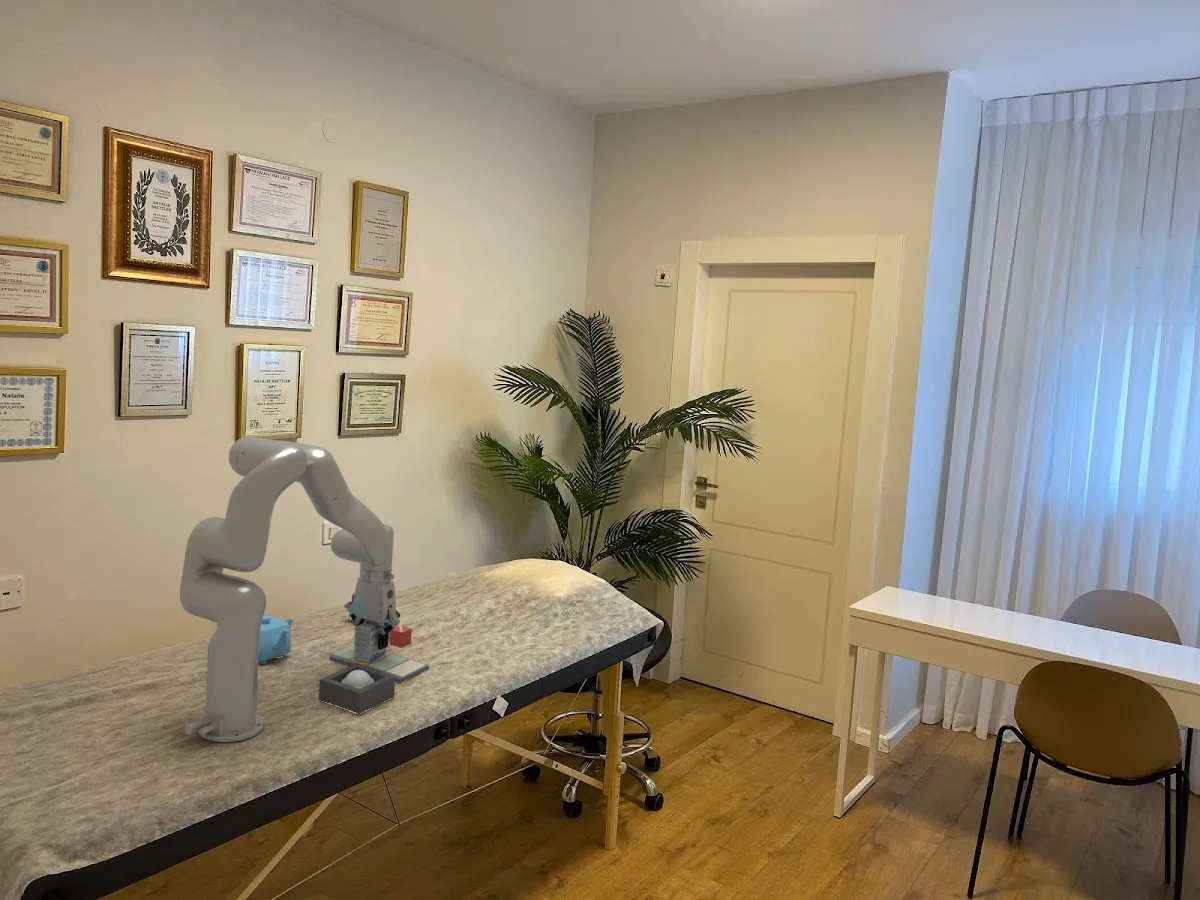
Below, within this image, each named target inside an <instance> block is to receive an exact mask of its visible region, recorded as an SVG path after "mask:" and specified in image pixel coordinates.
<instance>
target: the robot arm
mask: <svg viewBox="0 0 1200 900" xmlns="http://www.w3.org/2000/svg"><path fill="white" fill-rule="evenodd" d="M228 463H229V465H230V467H231V469H232V470H233V471H234V472H235V473H237V475H239V476H241V477H242V479H241V480H240V481H238V483H237V484H236V485H235V487H234V488H233V490H232V492H231V493H230V496H229V498H228V502H227V509H226V513H225V517H217V516H212V517H207V518H204V519H202V520H201V521H200V522H198V523H197V524H196V525H194V528H193V529H192V531H191V532H190V534H189V537H188V539H187V543H186V548H185V553H184V560H183V565H182V573H181V579H180V585H179V586H180V587H179V601H180V604H181V607H182V609H183V610H185V612H187V613H188V614H190V615H192V616H195V617H198V618H202V619H205V620H209V621H211V622H213V623H216V624H217V626H216V630H215V631H214V633H213V634H212V636H211V638H210V639H209V642H208V646H207V665H206V666H207V671H206V701H205V702H206V703H205V704H206V706H205V710H204V711H201V716H200V718H198V720H197V721H196V722H195V721H194V722H192V723H189V724H187V725H185V727H184V732H185V733H186V734H187V735H188V736H190V735H194V734H196V733H197V734H198V735H199V736H200V737H201V738H202V739H204V740H207V741H210V742H216V743H233V742H240V741H243V740H244V741H245V740H248V739H250V738H253V737H255V736H256V735H258V734H260V732H262V730H263V729H264V727H265V719H264V717H263V716H262V715H261V714H259V713H257V708H258V684H259V683H258V681H259V680H258V679H259V677H258V676H259V663H258V658H259V637H260V629H261V624H262V619H263V616H265V611H266V607H267V597H266V593H265V591H264V589H262V587H261V586H260V585H259V584H257V583H256V582H254V581H252V580H250V579H246V578H243V577H240V576H239V577H238V576H236V575H232V574H227V573H224V572H223V571H224V569H227V570H231V571H235V572H239V573H240V572H242V573H251V572H255V571H257V570H258V569H259V568H260V567H262V565H263V563H264V561H265V557H266V553H267V547H268V542H269V536H270V530H271V524H272V523H271V521H272V517H273V514H274V513H273V512H274V508H275V505H276V502H277V501H278V499H279V498H280V496H281V495H282V494H283V493H284V492H285V491H286V490H287V489H288V488H289V487H290V486H292V485H293V484H294V483H299V484H301V486H302V488H303V489H304V491H305V493H306V495H307V496H308V498H309V500H310V501H311V503H312V506H313V507H314V510H315V511H316V512H317V514H318V516H321V517H322V518H323V519H324V520H326V521H327V522H329V523H330V524H333V525H334V526H337V527H339V528H341V529H340V530H338V531H337V532H336V533H335V534H334V535H333V536H332V538H331V542H330V549H331V551H332V553H333V554H334V555H335V556H336V557H337V558H340V559H342V560H346V561H350V562H352V563H353V562H354V563H359V577H357V581H356V585H355V589H354V593H355V594H354V602H353V603H352V604H351V605H350V606H348V607H347V608H346V610H347V612H348V613H349V614H350V615H351V617H350V618H351V620H352V622H353V626H354V627H357V626H359V625H361V624H363V623H364V622H365V621H366V620H370V621H373V622H376V623H378V625H379V629H380V632H381V633H380V634H379V635H378V649H379V650H381V649H384V648H386V649H387V648H388V647H389V636H390V632H391V631H392V630H393V629H394V628H395V627H397V626H399V624H400V622H401V620H400V619H399V618H400V617H399V618H398V617H397V615H396V610H397V609H396V607H397V606H396V605H397V600H396V599H397V598H396V587H395V583H394V581H393V580H394V578H395V575H394V574H392V571H393V570H392V569H393V568H392V567H393V555H394V554H393V553H394V550H393V549H394V540H395V539H394V535H395V531H394V529H393V527H392V526H391V525H389V524H387V523H386V524H385V523H383V522H382V521H381V520H380V518H379V517H378V516H377V515H376V513H375V512H373V511H372V510H371V509H370V508H368V506H366V505H365V504H364V503H363V502H362V501H361V500H359V499H358V498H357V497H356V496H354V494H353V493H352V492H351V489H350V488H349V486H348V484H347V481H346V480H345V478H344V476H343V473H342V471H341V470H340V467H339V466H338V464H337V462H336V459H335V458H334V456H333V455H332V453H331V452H330V451H329V450H327V449H326V448H324V447H320V446H316V445H313V444H312V445H311V444H307V443H302V442H301V443H299V442H295V441H287V440H276V439H269V438H264V437H263V438H262V437H258V436H257V437H256V436H251V435H250V436H249V435H248V436H244V437H241V438H239V439H238V440H236V441H235V442H234V443H233V444H232V446H231V447H230V449H229V453H228ZM389 619H390V620H391V623H390V622H389ZM383 623H385V626H386V627H384V624H383Z"/></svg>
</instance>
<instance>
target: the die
mask: <svg viewBox="0 0 1200 900" xmlns="http://www.w3.org/2000/svg"><path fill="white" fill-rule="evenodd" d="M412 632H413V628H411V627H408V626H404V625H399V624H398V625H397V626H396V627H395V628H394V629H393V630H392V631H391V632H389V643H388V645H392V646H395V647H398V648H403V647H406V646H407V645H410V644H412Z"/></svg>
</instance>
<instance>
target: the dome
mask: <svg viewBox="0 0 1200 900" xmlns="http://www.w3.org/2000/svg"><path fill="white" fill-rule="evenodd" d="M373 682H374V680H373V679H372V678H371V677H370V676H369V674H368V673H367V672H365V671H363V670H354V671H352V672H350V673H349V674H348V675H347V676H346V678H344V679H343V680H342V683H344V684H347V685H350V686H353V687H356V688H358V689H361V688H363V687H365V686H367V685H369V684H371V683H373Z"/></svg>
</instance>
